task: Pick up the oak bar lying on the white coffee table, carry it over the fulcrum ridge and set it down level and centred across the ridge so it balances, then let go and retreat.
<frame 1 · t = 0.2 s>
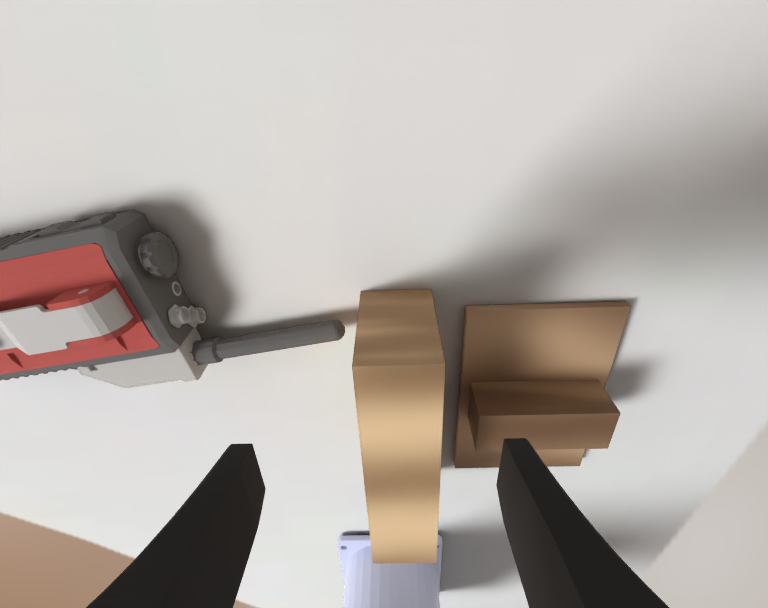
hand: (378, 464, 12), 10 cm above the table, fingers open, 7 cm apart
walkie-talkie: (144, 291, 21), on the table
fulcrum: (528, 392, 24), on the table
oak bar: (398, 392, 24), on the table
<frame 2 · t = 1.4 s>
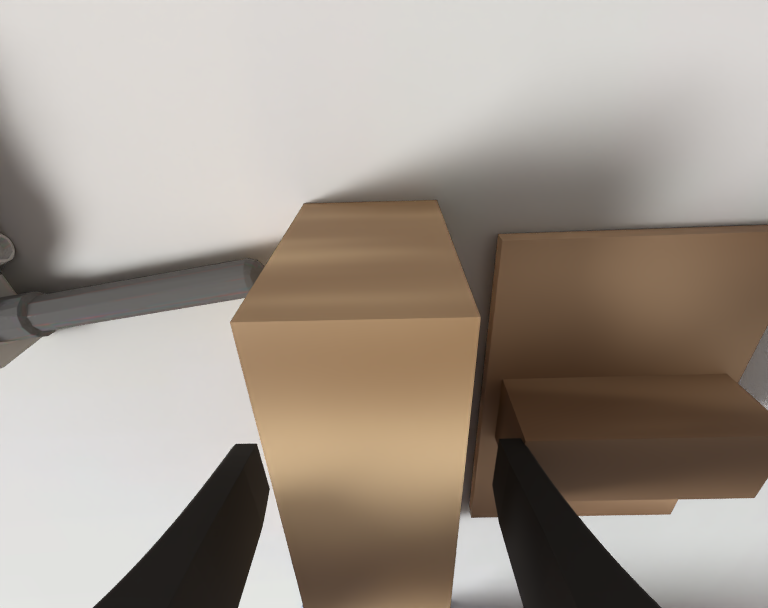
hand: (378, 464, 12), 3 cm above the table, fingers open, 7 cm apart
fulcrum: (597, 396, 14), on the table
oak bar: (379, 397, 14), on the table
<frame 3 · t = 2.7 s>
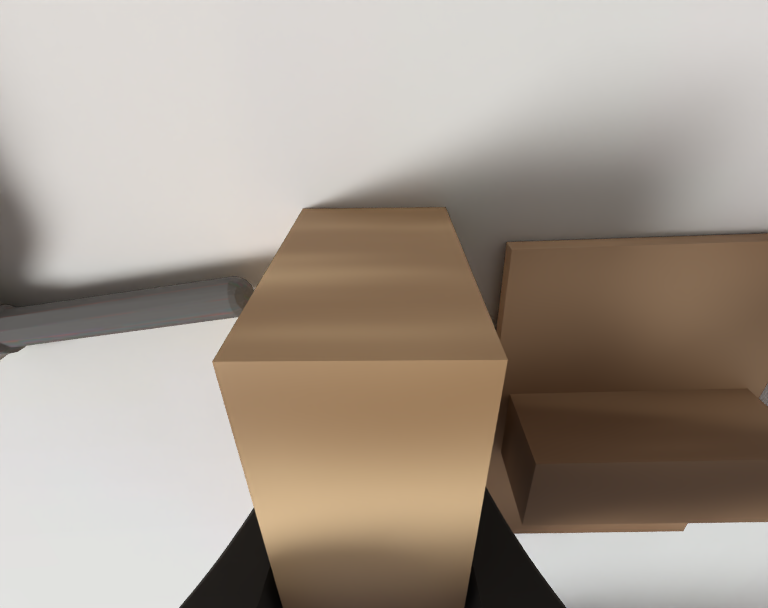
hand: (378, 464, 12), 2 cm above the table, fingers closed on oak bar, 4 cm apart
fulcrum: (609, 410, 13), on the table
oak bar: (379, 414, 14), on the table, touching gripper
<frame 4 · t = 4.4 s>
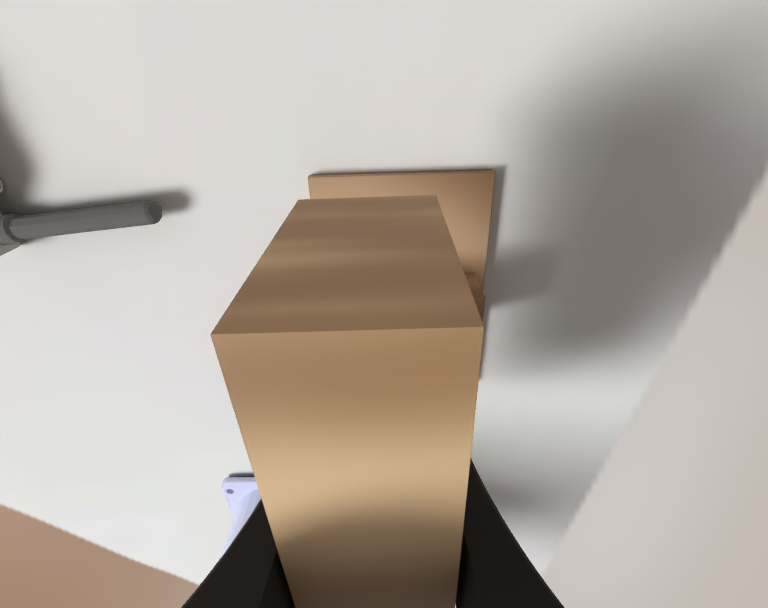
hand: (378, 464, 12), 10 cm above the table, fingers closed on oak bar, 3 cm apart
fulcrum: (401, 292, 21), on the table
oak bar: (379, 400, 14), point 8 cm above the table, touching gripper
when the fingers open (6 cm above the table, at t = 6.3 s): oak bar stays where it is, resting on fulcrum.
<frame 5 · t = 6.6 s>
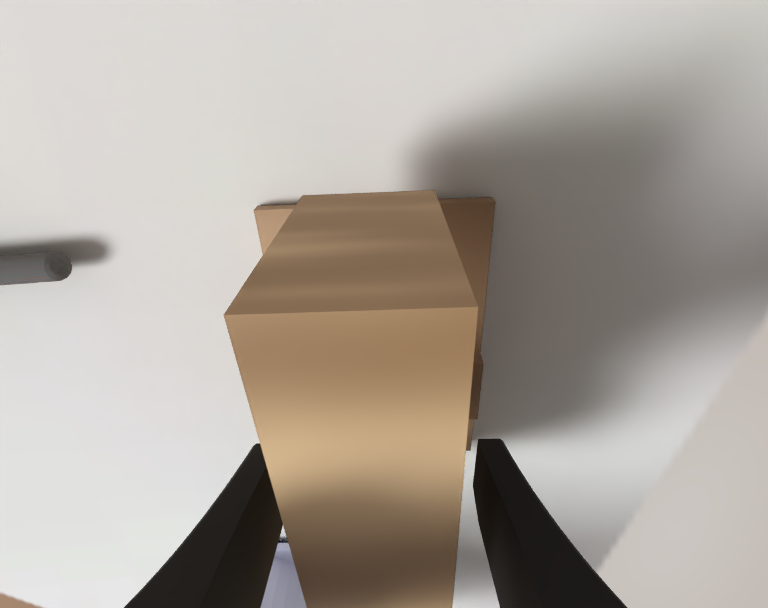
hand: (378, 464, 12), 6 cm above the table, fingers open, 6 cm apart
fulcrum: (381, 344, 17), on the table
oak bar: (380, 392, 14), point 3 cm above the table, touching fulcrum
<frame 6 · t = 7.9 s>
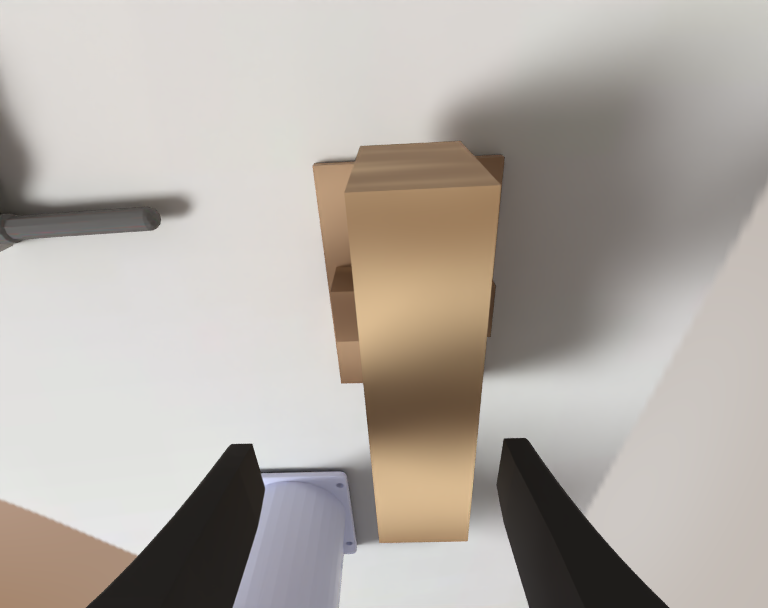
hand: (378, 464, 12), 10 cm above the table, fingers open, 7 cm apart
fulcrum: (409, 283, 20), on the table
oak bar: (412, 313, 18), point 3 cm above the table, touching fulcrum
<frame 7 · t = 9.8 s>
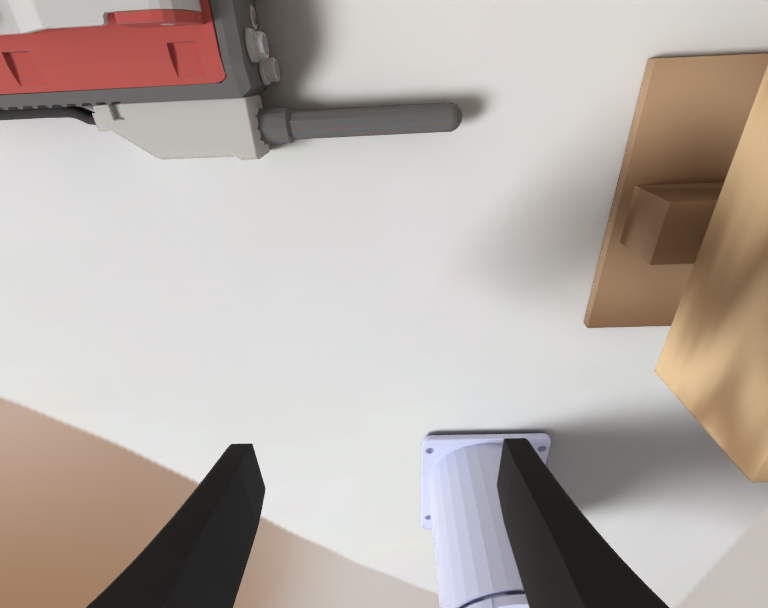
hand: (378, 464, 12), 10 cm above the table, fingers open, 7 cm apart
walkie-talkie: (201, 32, 16), on the table
fulcrum: (700, 208, 18), on the table
oak bar: (752, 229, 16), point 3 cm above the table, touching fulcrum
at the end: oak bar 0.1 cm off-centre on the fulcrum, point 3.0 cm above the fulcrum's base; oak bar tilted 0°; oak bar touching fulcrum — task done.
